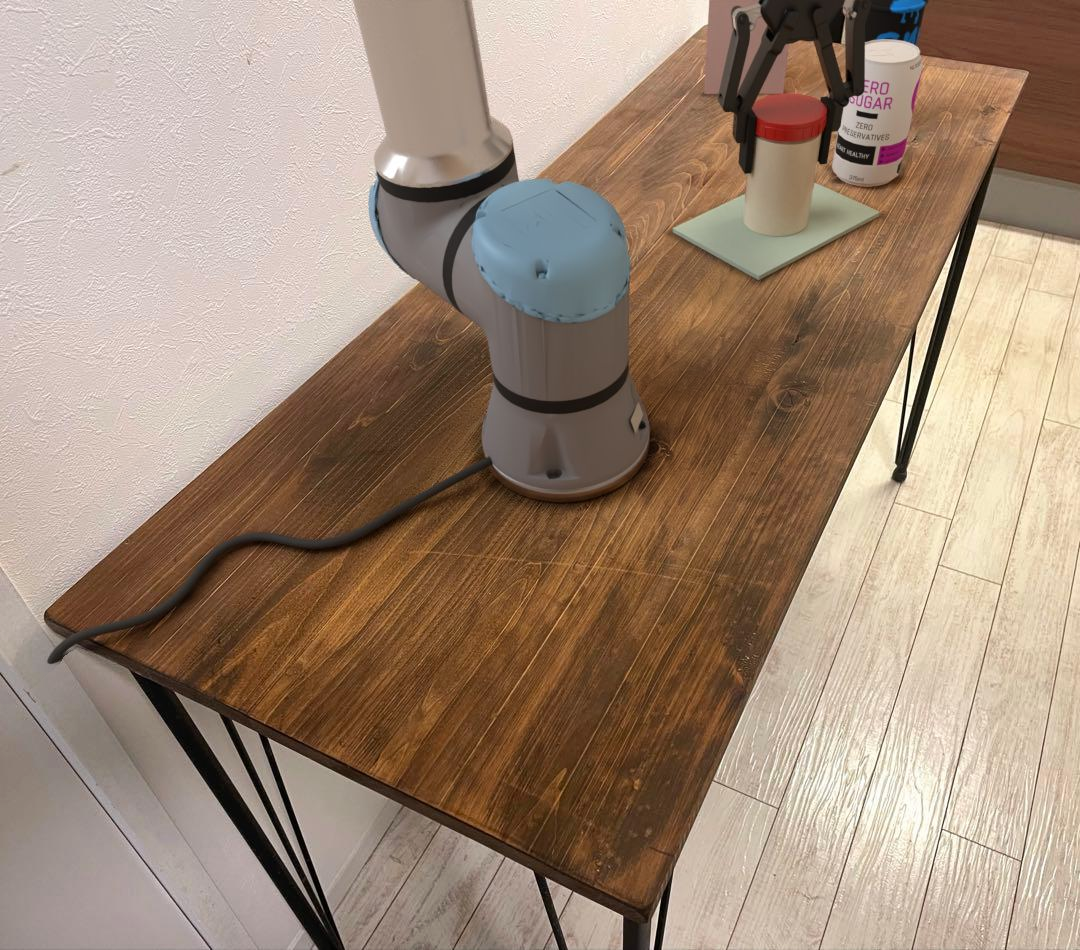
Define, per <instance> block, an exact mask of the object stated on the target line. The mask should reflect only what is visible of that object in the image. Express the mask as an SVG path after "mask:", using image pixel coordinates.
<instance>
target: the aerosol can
mask: <svg viewBox="0 0 1080 950" xmlns="http://www.w3.org/2000/svg"><path fill="white" fill-rule="evenodd" d="M928 3H929V0H871V7H870V10H869V13H868V16H867V19H866V22H865V42H869V41H872V40H881V39H892V40H900V41H905V42H908V43H911V44H914V45H915V46H917V47H918V42H919V37H920V32H921V28H922V22H923V17H924V14H925V8H926V6H927V4H928Z"/></svg>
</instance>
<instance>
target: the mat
mask: <svg viewBox="0 0 1080 950" xmlns="http://www.w3.org/2000/svg"><path fill="white" fill-rule="evenodd" d="M744 200H745V193H743V194H741V195H739V196H737V197H734V198H733V199H730V200H728V201H727V202H725V203H721V204H720V205H718V206H716V207H714V208H712V209H710V210H707V211H706V212H703V213H701V214H699V215H697V216H695V217H693V218H691V219H688V220H687V221H684V222H682V223H680V224H679V225H676V226H674V227H672V233H673V234H675V235H677V236H678V237H680V238H681V239H684V240H686V241H687V242H689V243H691V244H692V245H694V246H696V247H698V248H699V249H702V250H703V251H705V252H706V253H709V254H710V255H712V256H714V257H715V258H718V259H720V260H721V261H723V262H724V263H727V264H729V265H730V266H732V267H734V268H735V269H738V270H739V271H741V272H743V273H745V274H746V275H748V276H750V277H752V278H754V279H755V280H757V281H760V280H762V279H764V278H766V277H768V276H770V275H771V274H774V273H776V272H777V271H779V270H782V269H783V268H785V267H787V266H789V265H791V264H793V263H794V262H796V261H798V260H800V259H802V258H803V257H806V256H807V255H810V254H811V253H814V252H816V251H817V250H818V249H821V248H822V247H824V246H826V245H829V244H830V243H832V242H835V241H836V240H837V239H839V238H841V237H843V236H845V235H846V234H849V233H851V232H853V231H854V230H856V229H858V228H860V227H862V226H864V225H866V224H867V223H869V222H871V221H873V220H875V219H877V218H879V217H880V215H881V211H879V210H877V209H875V208H872V207H870V206H869V205H866V204H864V203H861V202H859V201H857V200H855V199H853V198H850V197H848V196H846V195H844V194H842V193H839V192H837V191H834V190H833V189H830V188H828V187H826V186H823V185H821V184H819V183H817V182H815V183H814V190H813V197H812V203H811V210H810V217H809V223H808V225H807V226H806V228H805V229H803V230H802V231H800V232H798V233H795V234H792V235H787V236H767V235H762V234H759V233H756V232H754V231H752V230H750V229H749V228H747V227H746V225H745V224H744V222H743V211H744Z"/></svg>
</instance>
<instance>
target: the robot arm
mask: <svg viewBox="0 0 1080 950" xmlns="http://www.w3.org/2000/svg"><path fill="white" fill-rule="evenodd" d="M352 2H353V3H352V4H353V6H354V11H355V14H356V18H357V19H356V20H357V23H358V27H359V30H360V34H361V39H362V43H363V46H364V51H365V55H366V58H367V63H368V67H369V69H370V75H371V79H372V82H373V83H372V84H373V86H374V91H375V95H376V99H377V104H378V107H379V111H380V115H381V119H382V123H383V127H384V130H385V136H384V138H383V139H382V140H381V142H380V143H379V145H378V146H377V148H376V149H375V152H374V156H373V160H374V161H373V162H374V168H375V177H376V179H375V182H374V184H373V185H370V188H369V192H368V193H369V195H368V206H367V207H368V217H369V218H368V219H369V222H370V227H371V230H372V232H373V234H374V237H375V239H376V240H377V242H378V244H379V246H380V247H381V248H382V250H383V251H384V253H386V254H387V255H388V258H390V260H391V261H392V262H393V264H395V265H396V266H397V267H398V269H400V270H401V271H403V272H404V273H405V274H406V275H408V276H409V277H410V278H412V279H413V280H415V281H418V282H419V283H420V284H421V285H423V286H424V287H425V288H427V289H428V290H429V291H431V292H432V293H434V294H435V295H436V296H437V297H439V298H440V299H441V300H443V301H444V302H446V303H447V304H448V305H449V306H451V307H452V308H454V309H455V310H456V311H458V312H459V313H460V314H462V315H463V316H464V317H466V318H467V319H468V320H469V321H471V323H473V324H474V325H476V326H477V327H478V328H479V329H481V330H482V331H483V333H484V335H485V336H486V340H487V344H488V352H489V358H490V365H491V370H492V380H493V385H492V388H491V392H490V397H489V400H488V405H487V409H486V414H485V416H484V419H483V422H482V426H481V427H482V430H481V446H482V451H483V459H481V460H479V461H477V462H475V463H474V464H471V465H470V466H468V467H466V468H464V469H462V470H460V471H459V472H456V473H455V474H452V475H451V476H449V477H447V478H445V479H443V480H441V481H440V482H437V483H436V484H435V485H433V486H431V487H429V488H427V489H425V490H424V491H422V492H420V493H418V494H417V495H415V496H413V497H411V498H409V499H407V500H405V501H404V502H402V503H399V504H398V505H396V506H395V507H393V508H391V509H389V510H387V511H386V512H385V513H382V514H381V515H379V516H378V517H376V518H375V519H373V520H371V521H370V522H367V523H366V524H363V526H360V527H358V528H356V529H354V530H352V531H349V532H347V533H344V534H341V535H337V536H334V537H333V536H332V537H329V538H322V539H307V538H300V537H293V536H290V535H286V534H285V535H284V534H280V533H275V532H267V531H254V532H253V531H252V532H248V533H243V534H240V535H237V536H236V535H235V536H233V537H231V538H229V539H227V540H225V541H223V542H221V543H220V544H218V545H216V546H215V547H214V548H213V549H211V550H209V552H208V553H207V554H206V555H205V556H204V557H203V558H202V559H201V561H199V563H197V565H196V566H195V568H194V569H193V571H192V572H191V573H190V575H189V576H188V577H187V579H186V580H185V581H184V582H183V583H182V584H181V585H180V587H179V588H178V589H177V590H176V591H175V592H174V593H173V594H172V595H171V596H170V597H169V598H167V599H166V600H164V601H163V602H162V603H160V604H159V605H157V606H155V607H153V608H151V609H150V610H147V611H145V612H143V613H140V614H137V615H135V616H132V617H128V618H127V617H126V618H123V619H119V620H115V621H112V622H111V621H110V622H106V623H103V624H99V625H95V626H91V627H88V628H85V629H82V630H79V631H77V632H75V633H73V634H71V635H69V636H67V637H66V638H65V639H63V640H62V641H61V642H60V643H59V644H58V645H57V646H55V648H53V650H52V651H51V652H50V654H49V656H48V657H47V660H46V662H47V664H49V665H52V664H55V663H57V662H58V661H59V660H60V659H61V658H62V657H63V655H64V654H65V653H66V652H67V651H68V650H70V648H72V647H74V646H75V645H77V644H79V643H81V642H83V641H86V640H88V639H92V638H94V637H98V636H99V637H100V636H102V635H106V634H107V635H108V634H111V633H115V632H119V631H123V630H128V629H131V628H134V627H138V626H141V625H145V624H146V623H148V622H151V621H154V620H155V619H157V618H159V617H161V616H163V615H164V614H166V613H167V612H169V611H170V610H172V609H173V608H174V607H176V606H177V605H178V604H179V603H180V602H181V601H182V600H183V599H184V598H185V597H186V596H187V595H188V594H189V593H190V591H192V590H193V588H194V587H195V585H196V584H197V583H198V582H199V580H200V579H201V577H202V576H203V575H204V574H205V572H206V571H207V570H208V569H209V567H211V565H212V564H213V563H214V562H215V561H216V560H217V559H218V558H219V557H220V556H222V555H223V554H224V553H226V552H228V551H229V550H231V549H233V548H236V547H238V546H240V545H244V544H246V543H252V542H268V543H275V544H279V545H284V546H288V547H294V548H298V549H304V550H305V549H307V550H323V549H329V548H334V547H338V546H342V545H345V544H348V543H351V542H354V541H356V540H358V539H360V538H363V537H364V536H366V535H368V534H370V533H372V532H374V531H376V530H377V529H379V528H381V527H382V526H384V525H386V524H387V523H388V522H390V521H392V520H394V519H395V518H396V517H398V516H400V515H402V514H404V513H405V512H407V511H410V510H411V509H413V508H415V507H417V506H419V505H420V504H423V503H424V502H426V501H428V500H430V499H432V498H433V497H435V496H437V495H438V494H440V493H442V492H444V491H445V490H447V489H449V488H451V487H452V486H455V485H456V484H458V483H460V482H462V481H464V480H466V479H468V478H470V477H472V476H473V475H475V474H478V473H479V472H481V471H483V470H484V469H486V468H488V470H489V471H490V473H491V474H492V475H493V477H494V478H495V479H496V480H497V481H498V482H499V483H500V484H502V485H503V486H504V487H506V488H507V489H508V490H511V491H513V492H514V493H517V494H518V495H521V496H523V497H527V498H529V499H534V500H537V501H542V502H548V503H549V502H550V503H573V502H582V501H586V500H591V499H594V498H598V497H601V496H603V495H606V494H608V493H610V492H613V491H615V490H616V489H618V488H620V487H622V486H623V485H625V484H626V483H627V482H629V481H630V480H631V479H632V478H633V477H634V476H635V475H636V474H637V473H638V472H639V471H640V470H641V468H642V466H643V465H644V463H645V461H646V459H647V457H648V454H649V452H650V451H649V450H650V436H651V435H650V434H651V433H650V429H651V428H650V421H649V417H648V414H647V411H646V408H645V406H644V404H643V402H642V399H641V397H640V394H639V392H638V390H637V388H636V385H635V383H634V379H633V378H632V375H631V373H630V371H629V370H630V361H629V359H630V358H629V357H630V293H631V292H630V291H631V289H630V285H631V282H630V281H631V271H632V270H631V268H632V265H631V257H630V254H629V249H628V240H627V232H626V231H627V230H626V227H625V224H624V222H623V220H622V217H621V215H620V214H619V212H618V211H617V209H616V208H615V206H614V205H613V204H612V203H611V202H610V201H609V200H608V199H607V198H605V197H604V196H603V195H601V194H600V193H598V192H596V191H595V190H594V189H591V188H589V187H587V186H586V185H585V186H584V185H582V184H580V183H576V182H573V181H569V180H564V181H562V182H560V183H555V182H554V180H553V179H552V178H530V179H523V180H520V179H519V178H520V177H519V174H518V166H517V160H516V159H517V158H516V153H515V146H514V139H513V136H512V133H511V130H510V128H509V127H508V126H507V125H505V124H504V123H502V122H501V121H499V120H498V119H497V118H495V117H493V116H492V115H491V112H490V105H489V100H488V99H489V98H488V93H487V87H486V80H485V74H484V67H483V61H482V56H481V49H480V44H479V43H480V42H479V37H478V30H477V25H476V17H475V12H474V11H475V10H474V5H473V0H352ZM870 7H871V0H759V2H758V4H755V5H752V6H748V7H745V8H741V6H734V7H733V8H732V10H731V21H732V35H731V39H730V44H729V48H728V53H727V57H726V62H725V66H724V71H723V75H722V80H721V84H720V89H719V93H718V94H717V102H718V104H719V105H720V107H721V109H722V111H723V112H725V113H733V117H732V118H733V120H732V133H731V134H732V137H733V139H734V141H735V142H736V144H737V145H739V151H738V161H737V162H738V165H739V167H740V169H741V170H742V172H743V174H744V175H747V174H749V173H751V171H752V161H753V150H754V139H755V128H756V117H757V116H756V114H755V113H754V111H753V110H752V107H753V105H754V103H755V102H756V101H757V98H758V97H759V95H760V94H759V92H760V90H761V88H762V86H763V84H764V82H765V80H766V78H767V76H768V74H769V72H770V70H771V68H772V66H773V64H774V62H775V60H776V58H777V56H778V55H779V54H781V52H782V50H783V48H784V46H785V44H789V45H792V44H794V43H798V42H800V41H801V42H813V44H814V48H815V51H816V56H817V58H818V62H819V64H820V65H819V66H820V67H821V71H822V75H823V79H824V83H825V86H826V89H827V93H828V95H826V96H820V99H819V100H820V101H822V102H823V103H824V104H825V105H826V107H827V115H826V116H827V120H826V127H824V131H822V136H821V143H820V150H819V156H818V164H819V165H820V166H821V165H827V164H828V160H829V153H830V147H831V141H832V140H831V139H832V133H833V132H837V131H838V130H839V128H840V126H841V120H842V114H843V108H844V107H845V106H847V105H848V103H849V98H851V97H853V96H860V95H862V94H863V92H864V90H865V22H866V19H867V16H868V13H869V10H870ZM841 9H842V14H843V15H844V16H845V18H844V20H845V21H844V31H845V32H844V33H845V34H844V49H845V52H844V53H845V54H844V55H845V56H844V57H845V59H844V60H845V61H844V62H845V63H844V64H845V65H844V66H845V67H844V68H845V69H844V70H845V81H843V78H842V74H841V70H840V67H839V62H838V58H837V56H836V53H835V48H834V46H833V45H834V44H833V43H834V41H833V38H832V34H831V31H830V27H829V25H830V24H831V22H833V20H834V18H835V17H836V16H837V15H838V13H839V12H840V11H841ZM759 17H762V18H763V20H764V21H765V23H766V24H767V27H766V29H765V31H764V33H763V36H762V38H761V44H760V46H759V49H758V51H757V53H756V55H755V57H754V59H753V61H752V63H751V65H750V67H749V69H748V72H747V74H746V76H745V78H744V80H743V82H742V84H741V86H740V88H739V84H740V80H741V75H742V71H743V67H744V63H745V59H746V54H747V50H748V46H749V41H750V31H752V30H753V29H754V28H755V25H756V21H757V19H758V18H759ZM738 88H739V90H738ZM737 92H738V93H737Z"/></svg>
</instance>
